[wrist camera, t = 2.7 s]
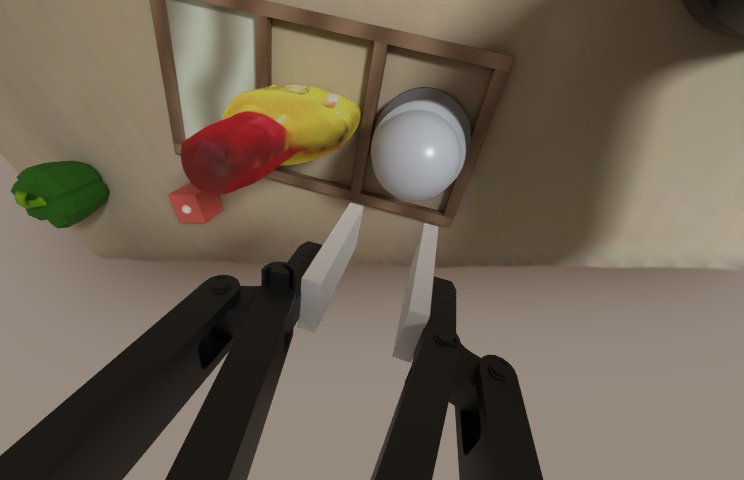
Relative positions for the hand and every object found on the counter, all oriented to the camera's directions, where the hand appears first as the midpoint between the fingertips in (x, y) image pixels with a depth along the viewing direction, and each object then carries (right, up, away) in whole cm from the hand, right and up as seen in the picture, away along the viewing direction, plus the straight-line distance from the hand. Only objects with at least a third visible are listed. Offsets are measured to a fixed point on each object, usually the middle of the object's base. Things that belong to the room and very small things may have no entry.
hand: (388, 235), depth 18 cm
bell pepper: (-43, +9, +31) cm, 54 cm away
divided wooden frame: (-7, +14, +18) cm, 24 cm away
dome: (+4, +9, +15) cm, 18 cm away
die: (-24, +6, +28) cm, 37 cm away
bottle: (-7, +14, +18) cm, 24 cm away
